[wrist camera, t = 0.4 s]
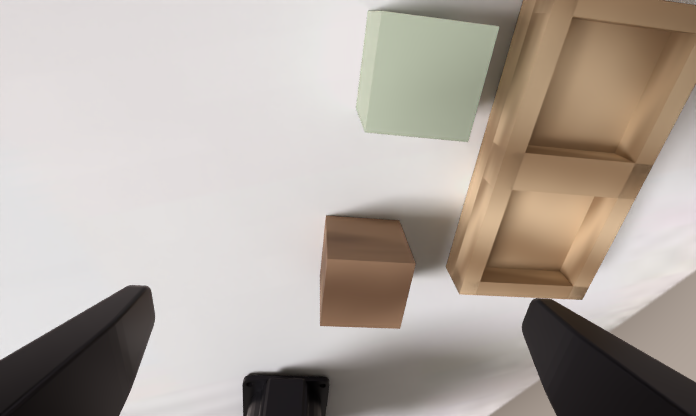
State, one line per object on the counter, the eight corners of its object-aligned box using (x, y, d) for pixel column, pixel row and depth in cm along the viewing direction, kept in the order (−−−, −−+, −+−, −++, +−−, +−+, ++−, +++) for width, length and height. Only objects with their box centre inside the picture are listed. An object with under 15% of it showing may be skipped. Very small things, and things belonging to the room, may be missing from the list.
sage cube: (438, 116, 20) (467, 141, 16) (355, 107, 19) (365, 132, 15) (459, 23, 18) (499, 26, 14) (367, 11, 17) (381, 10, 13)
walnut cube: (387, 277, 25) (400, 328, 21) (319, 274, 24) (320, 325, 20) (398, 219, 23) (415, 263, 19) (325, 214, 22) (327, 259, 18)
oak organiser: (557, 272, 25) (582, 299, 23) (445, 266, 25) (459, 294, 22) (679, 11, 18) (734, 10, 16) (526, -12, 17) (559, -15, 15)
